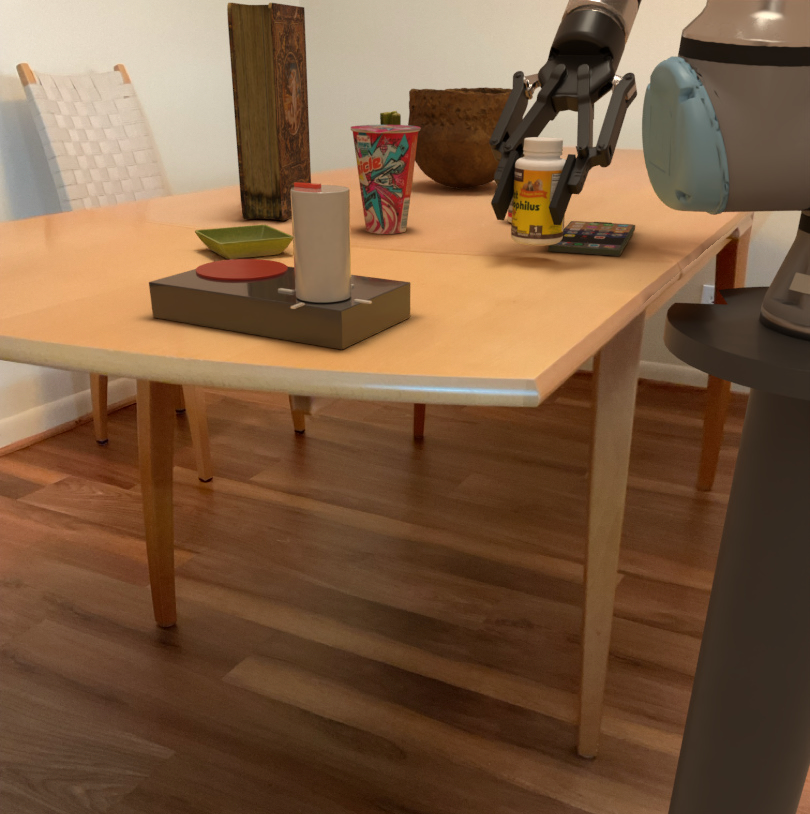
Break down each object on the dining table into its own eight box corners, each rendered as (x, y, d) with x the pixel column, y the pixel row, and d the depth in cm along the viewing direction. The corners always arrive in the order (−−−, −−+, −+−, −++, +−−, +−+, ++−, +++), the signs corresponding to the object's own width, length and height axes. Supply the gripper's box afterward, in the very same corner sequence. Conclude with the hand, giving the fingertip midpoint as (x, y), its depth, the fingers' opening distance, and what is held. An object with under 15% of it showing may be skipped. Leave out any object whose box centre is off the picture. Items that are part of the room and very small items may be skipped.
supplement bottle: (499, 240, 99) (504, 137, 94) (536, 235, 102) (543, 135, 97) (536, 248, 95) (543, 141, 90) (573, 243, 98) (582, 138, 93)
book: (278, 203, 135) (267, 7, 123) (314, 204, 134) (306, 7, 122) (242, 221, 121) (226, 2, 109) (282, 223, 120) (270, 2, 108)
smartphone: (548, 251, 104) (549, 240, 104) (570, 229, 117) (571, 219, 116) (619, 256, 102) (621, 245, 101) (634, 234, 115) (635, 223, 114)
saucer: (296, 255, 101) (295, 236, 100) (220, 263, 97) (219, 242, 96) (266, 242, 108) (265, 224, 107) (195, 249, 104) (193, 230, 103)
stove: (418, 318, 78) (419, 281, 76) (341, 355, 68) (340, 313, 67) (233, 291, 86) (230, 257, 85) (141, 321, 77) (136, 283, 75)
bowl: (467, 178, 162) (470, 84, 155) (543, 190, 149) (551, 88, 142) (382, 186, 152) (382, 86, 145) (457, 200, 139) (460, 91, 132)
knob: (362, 293, 73) (360, 182, 69) (332, 305, 69) (328, 189, 66) (315, 287, 75) (311, 179, 71) (284, 298, 71) (278, 185, 67)
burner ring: (305, 267, 82) (305, 264, 82) (251, 284, 76) (250, 282, 76) (234, 257, 85) (233, 255, 85) (176, 274, 79) (176, 271, 79)
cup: (344, 226, 118) (342, 124, 112) (406, 223, 120) (407, 123, 115) (365, 239, 110) (364, 130, 104) (431, 235, 113) (433, 129, 107)
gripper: (681, 63, 98) (618, 245, 93) (520, 62, 106) (454, 229, 101) (676, 3, 92) (608, 195, 87) (504, 7, 100) (433, 183, 94)
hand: (525, 213), depth 94 cm, fingers closed on supplement bottle, 6 cm apart
